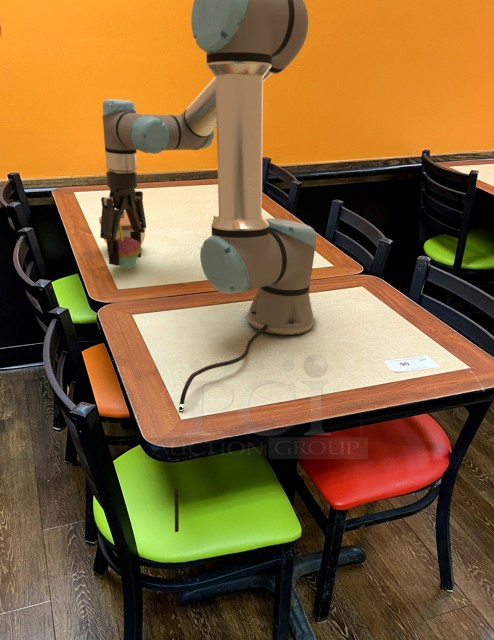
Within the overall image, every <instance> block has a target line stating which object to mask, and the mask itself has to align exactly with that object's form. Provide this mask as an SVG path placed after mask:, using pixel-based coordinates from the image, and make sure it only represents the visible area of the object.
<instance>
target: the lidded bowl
mask: <svg viewBox="0 0 494 640" xmlns="http://www.w3.org/2000/svg"><path fill="white" fill-rule="evenodd" d="M101 218H102V215H100V217H99V219H98V220H99V224H100V226H101ZM140 223H142V222H140ZM120 225H121V229H122V235H123V237H126V236H127V237H130V238H131V235H130V232H132V231H133V230H132V227H131V224H130V221H129V219H128V216H127V213H126V210H124V213H123V214H122V215H121V218H120ZM143 229H144V228H143ZM133 232H134V231H133ZM111 235H112V234H111ZM117 238H120V233H119V227H118V231H117V235H116V239H117ZM145 238H146V230H145V231H144V233H141V246H142V245H143V244H144V241H145ZM103 241H104V242H105V244H106V245H107V240H106V239H103Z"/></svg>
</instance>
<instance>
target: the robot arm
mask: <svg viewBox="0 0 494 640" xmlns="http://www.w3.org/2000/svg"><path fill="white" fill-rule="evenodd" d="M306 6H307V5H306V3H305V0H193V3H192V8H191V17H190V19H191V20H190V23H191V24H190V26H191V33H192V36H193V39H195V43H196V45H197V47H198V48H200V50H202V51H203V52H205V54H206V55H205V56H206V67H207V68H208V69H209V70H210V72H211V73H212V74H213V76H214V77H213V78H212V79H211V80H210V82H209V83H208V84H207V85H206V86H205V87H204V88H203V89H202V91H201V92H200V93H199V94H198V95H197V96H196V97H195V99H194V100H193V101H192V102H191V103H190V104H189V105H188V106H187V108H186V109H185V110H184V111H183V112H181V114H143V113H138V112H137V110H136V105H135V103H134V102H133V101H131V100H127V99H116V98H113V99H112V98H108V99H105V100H104V101H103V103H102V116H101V118H102V125H103V126H102V127H103V139H104V152H105V153H104V154H105V169H107V170H106V172H105V174H106V175H105V177H106V186H107V187H108V188H109V195H108V196H107V197H105V196H102V197H101V198H100V202H101V216H102V218H101V225H100V234H99V237H100V238H101V239H103V240H104V239H106V240H107V244H106V248H107V249H106V250H107V253H108V264H109V265H112V266H115V267H120V266H119V250H118V240H116V235H117V231H118V227H119V223H120V218H121V215H122V214H123V213H124V211H126V213H127V216H128V219H129V221H130V224H131V227H132V230H133V231H134V232H133V231H132V232H130V235H131V238H133V239H135V240H137V241H138V242H139V243H140V245H141V233H144V231H145V232H146V229H147V221H146V213H145V208H144V202H143V198H144V197H143V196H144V193H143V191H140V190H136V189H137V188H138V172H136V171H137V169H138V153H137V151H140V152H143V153H145V154H151V155H152V154H153V155H157V154H160V153H161V152H163V151H189V150H191V151H199V150H203V149H204V150H205V149H207V148H209V147H210V146H211V145H212V144H213V140H214V138H215V130H216V146H217V147H216V156H217V158H216V159H217V194H218V195H217V196H218V197H217V198H218V199H217V200H218V201H217V202H218V214H219V215H218V217H217V218H216V220H215V221H214V222H213V221H212V223H211V236H208V238H206V239H205V240H204V241H203V243H202V245H201V247H200V251H199V257H200V265H201V269H202V272H203V273H204V276H205V278H206V279H207V280H208V282H209V284H210V285H211V286H212V288H214V289H215V290H217V291H218V292H220V293H222V294H225V295H231V294H237V293H238V294H242V293H245V292H248V291H252V290H256V289H257V291H256V293H255V295H254V298H253V300H252V302H251V305H250V307H249V310H248V315H247V320H248V324H249V325H251V326H252V327H254V328H255V329H257V330H258V331H257V332H256V333H254V335H253V336H251V338H250V339H249V340H248V341H247V344H246V346H245V349H244V352H243V353H242V354H240V355H239V356H237V357H235V358H233V359H230V360H226V361H221V362H216V363H213V364H209V365H207V366H204V367H201V368H200V369H198V370H196V371H194V372H193V373H191V374H190V375H189V377H187V379H186V382H185V384H184V387H183V388H182V391H181V395H180V398H179V399H180V400H179V405H180V404H184V405H185V401H186V396H187V393H188V390H189V389H190V386H191V383H192V381H193V380H194V379H195V378H196V377H197V376H199V375H201V374H203V373H204V372H206V371H209V370H213V369H216V368H220V367H226V366H230V365H233V364H236V363H238V362H240V361H242V360H244V359H245V358H246V357H247V356H248V354H249V351H250V349H251V348H250V347H251V346H252V344H253V342H254V341H255V340H256V339H257V338H258V337H260V336H261V334H262V333H264V332H265V333H268V334H273V335H280V336H292V335H293V336H294V335H300V334H304V333H306V332H308V331H310V330H311V329H312V327H313V323H314V313H313V308H312V303H311V297H310V286H311V281H312V273H313V265H314V259H315V252H316V248H317V246H316V242H317V241H316V240H317V234H316V231H315V229H314V228H313V227H312V226H310V225H308V224H304V223H301V222H298V221H293V220H289V219H283V218H266V219H265V218H264V217H263V213H262V212H263V133H264V132H263V129H264V128H263V127H264V126H263V120H264V119H263V117H264V116H263V114H264V82H265V81H266V80H267V79H268V78H269V77H270V76H271V75H272V74H273V75H277V74H280V73H282V72H283V71H284V70H285V69H286V68H287V67H288V66H289V65H290V64H291V63H292V62H293V61H294V60H295V59H296V57H297V56H298V54H300V52H301V50H302V48H303V46H304V44H305V41H306V39H307V35H308V31H309V15H308V9H307V7H306ZM140 222H142V223H140ZM143 228H144V229H143ZM111 234H112V235H111ZM141 246H142V245H141ZM141 257H142V251H141V252H140V253H139V255H138V257H137V259H140V258H141ZM182 409H183V411H179V410H182ZM180 412H182V413H183V412H184V408H182V407H179V406H178V413H180ZM173 491H174V494H173V495H174V533H175V532H178V531H179V532H180V530H179V529H180V528H179V527H180V524H179V523H180V520H179V519H180V518H179V517H180V509H179V506H180V505H179V504H180V503H179V500H180V499H179V497H180V495H179V489H178V488H177V487H174V490H173Z"/></svg>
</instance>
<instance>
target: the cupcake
mask: <svg viewBox="0 0 494 640" xmlns="http://www.w3.org/2000/svg"><path fill="white" fill-rule="evenodd" d="M119 233H120V238H117V239H116V240H118V250H119V266H118V267H120V268H125V269H126V268H133V267H135V266H136V265H137V260H138V255H139V253H140V252H141V253H142V245H140V243H139V242H138V241H137V240H135V239H133V238H130V237H127V236H126V237H123V235H122V229H121V225H120V223H119Z"/></svg>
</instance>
